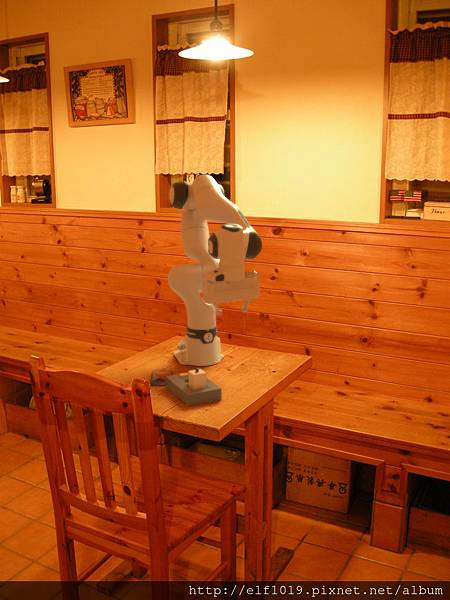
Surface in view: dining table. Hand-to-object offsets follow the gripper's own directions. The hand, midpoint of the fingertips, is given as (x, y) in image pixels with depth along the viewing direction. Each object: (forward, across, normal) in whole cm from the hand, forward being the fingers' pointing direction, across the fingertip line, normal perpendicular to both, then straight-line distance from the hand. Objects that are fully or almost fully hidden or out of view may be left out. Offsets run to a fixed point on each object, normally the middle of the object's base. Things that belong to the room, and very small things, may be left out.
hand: (231, 313), depth 211 cm
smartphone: (+28, +19, -20) cm, 39 cm away
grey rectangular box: (+27, +14, -2) cm, 30 cm away
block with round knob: (+27, +14, +2) cm, 30 cm away
